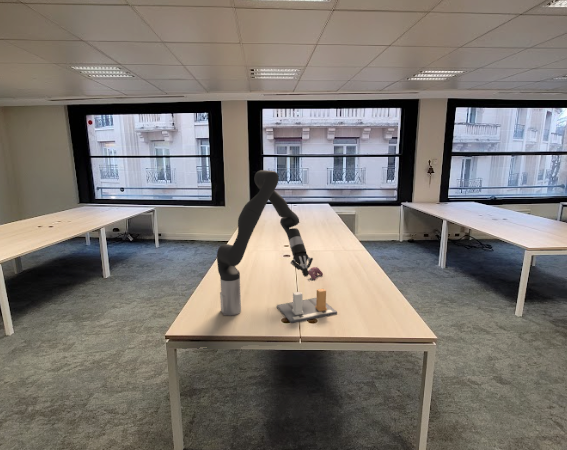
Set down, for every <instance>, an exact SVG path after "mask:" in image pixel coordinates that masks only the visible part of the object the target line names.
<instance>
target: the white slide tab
mask: <svg viewBox="0 0 567 450" xmlns="http://www.w3.org/2000/svg"><path fill="white" fill-rule="evenodd" d="M302 300H303V293H302V292H301V291H295V292H292V302H293V309H292V312H293V313H294V314H295V315H300V314H303V311H302Z"/></svg>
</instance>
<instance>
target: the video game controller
mask: <svg viewBox="0 0 567 450" xmlns="http://www.w3.org/2000/svg"><path fill="white" fill-rule="evenodd" d="M308 272H309V274H308V276H310V278H311V279H312V280H316V279H317V276H318V275H319V276H321V277H322V276H324V274H323V271H322V270H321V269H320V268H319V267H318V266H313V267H311V268H310V269H309V270H308Z"/></svg>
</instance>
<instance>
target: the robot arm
mask: <svg viewBox="0 0 567 450" xmlns="http://www.w3.org/2000/svg"><path fill="white" fill-rule="evenodd" d="M253 178H254V180H253V181H254V183H255V185H256V186H257V188H258V189H259V191H257V194H255V195H254V197H252V198H251V199H249V201H248V202H247V203H245V205H244V206H243V208H242V210H241V212H240V213H239V215H238V218H237V228H238V229H237V235H236V238H235V240H234V242H233V244H229V243H228V244H227V243H223V244H222V245H220V246H219V247H218V250H217V251H216V260H217V261H216V262H217V271H218V274H219V278H220V279H219V281H220V292H219V297H220V311H221V313H222V316H236V315H238V314H240V313H241V312H242V301H241V300H242V299H241V297H242V296H241V275H240V271H239V270H238V268H237V266H238V265H239V264H240V263H241V262H242V260H243V257H244V255H245V253H246V250H247V248H248V244H249V241H250V239H251V236H252V234H253V233H254V230H255V228H256V226H257V224H258V222H259V220H260V218H261V215H262V213H263V211H264V210H265V207H266V205H267V203H268V201H269V202H270V203H271V205H272V206H273V208H274V210H275V211H276V213H277V215H278V216H279V217H280V218H281V219H280V222H279V223H280V226H281V227H282V228H283V230H284V232H285V233H286V236H287V239H288V243H289V248H290V251H291V253H292V256H293V257H292V260H291V261H290V263H289V264H290V265H292V266H293V267H294V268H296V269H297V270H299V271H301V273H302V276H304V277H306V278H307V277H308V276H309V272H308V271H309V270H308V269H309V268H310V267H311V265H312V262H313V260H314V258H313V257H309V255H308V253H307V250H306V247H305V243H304V240H303V239H302V235H301V232H300V229H299V228H297V227H295V226H297V225H298V224H300V218H299V216H298V215H297V214H296V213H295V212H294V211H293V210H292V209H291V207H289V205H288V203H287V201H286V200H285V199H284V198H283V197H282V196H281V195H280V194H279V193H278V192H277V191H276V188H277V186H278V183H279V174H278V173H277V172H276V171H273V170H268V169H267V170H266V169H265V170H263V169H260V170H258V171H257V172H255V174H254V177H253ZM293 227H295V228H293Z"/></svg>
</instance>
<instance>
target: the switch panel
mask: <svg viewBox="0 0 567 450" xmlns="http://www.w3.org/2000/svg"><path fill="white" fill-rule="evenodd" d="M316 299H317V297H313V298H312V297H311V298H307V299H302V311H303V314H300V315H295V314H294V313H293V312H292V309H293V301H292V302H286V303H280V304H276V308H277V309H278V310H279V311H280V313H281V314H282V315H283V317H284V318H286V319H287V321H288V322H289V323H290V324H294V323H298V322H304V321H308V320H313V319H317V318H322V317H327V316H332V315H337V314H338V311H337V310H336V309H335V308H333V307H332V306H331V305H330V304H328V303H327V302H326V308H327V310H325V311H320V312H319V311H318V310H317V309H316V308H315V306H316Z"/></svg>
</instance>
